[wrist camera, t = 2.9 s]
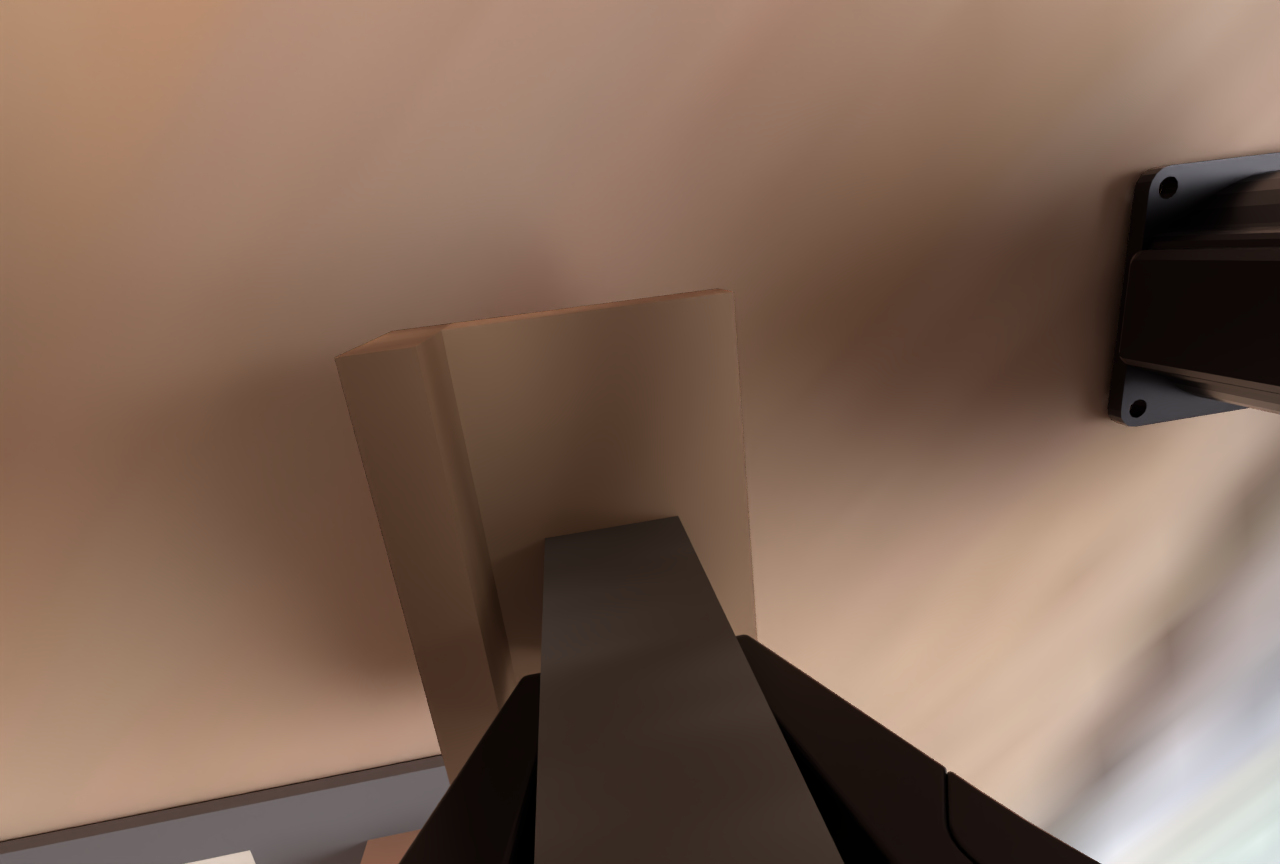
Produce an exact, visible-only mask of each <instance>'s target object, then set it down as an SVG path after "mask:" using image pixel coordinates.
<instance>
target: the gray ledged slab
mask: <svg viewBox="0 0 1280 864" xmlns="http://www.w3.org/2000/svg"><path fill="white" fill-rule="evenodd" d="M449 787H450V783H449V779H448V776H447V772H446V768H445V765H444V761H443V757H442V755H441V756H436V757H431V758H426V759H421V760H416V761H410V762H405V763H400V764H395V765H390V766H385V767H380V768H375V769H370V770H365V771H360V772H355V773H350V774H345V775H340V776H335V777H330V778H324V779H319V780H314V781H309V782H304V783H299V784H294V785H289V786H284V787H279V788H274V789H269V790H264V791H259V792H254V793H249V794H244V795H238V796H233V797H228V798H223V799H218V800H213V801H208V802H203V803H198V804H193V805H188V806H183V807H178V808H173V809H168V810H163V811H158V812H152V813H147V814H142V815H137V816H132V817H127V818H122V819H117V820H112V821H107V822H102V823H97V824H92V825H87V826H82V827H77V828H71V829H66V830H61V831H56V832H51V833H46V834H41V835H36V836H31V837H26V838H21V839H16V840H11V841H6V842H1V843H0V864H360V863H361V860H362V857H363V854H364V851H365V848H366V844H367V841H368V840H371V839H376V838H381V837H386V836H390V835H395V834H400V833H405V832H410V831H414V830H419V829H422V827H423V826H424V824H425V823H426V821H427V820H428V818H429V817H430V815H431V814H432V812H433V811H434V809H435V808H436V806H437V805H438V803H439V802H440V800H441V799H442V797H443V796H444V794H445V793H446V791H447V790H448V788H449Z"/></svg>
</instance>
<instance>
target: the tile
mask: <svg viewBox="0 0 1280 864" xmlns="http://www.w3.org/2000/svg"><path fill="white" fill-rule="evenodd" d="M420 830H421V829H419V830H414V831H410V832H405V833H400V834H395V835H390V836H386V837H381V838H376V839H371V840H368V841H367V844H366V848H365V851H364V854H363V857H362V860H361V863H360V864H398V863H399V862H400V860H401V859H402V857H403V856H404V854H405V853H406V851H407V850H408V848H409V847H410V845H411V844H412V842H413V841H414V839H415V838H416V836H417V835H418V833H419V832H420Z"/></svg>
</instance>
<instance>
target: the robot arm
mask: <svg viewBox="0 0 1280 864" xmlns="http://www.w3.org/2000/svg"><path fill="white" fill-rule="evenodd" d="M1161 183H1162V190H1161V193H1160V195H1159V186H1160V184H1161ZM1132 404H1133V405H1132ZM1131 405H1132V408H1131V409H1130V407H1131ZM1246 408H1253V409H1258V410H1262V411H1267V412H1272V413H1276V414H1280V152H1278V153H1270V154H1261V155H1253V156H1244V157H1236V158H1227V159H1219V160H1210V161H1202V162H1194V163H1185V164H1177V165H1169V166H1162V167H1155V168H1152V169H1150V170H1147V171H1146V172H1145V173H1144V174H1143V175H1141V177H1140V179H1139V180H1138V182H1137V183H1136V187H1135V190H1134V196H1133V205H1132V213H1131V221H1130V229H1129V238H1128V246H1127V254H1126V262H1125V271H1124V279H1123V287H1122V295H1121V303H1120V312H1119V320H1118V328H1117V336H1116V345H1115V353H1114V361H1113V369H1112V377H1111V386H1110V394H1109V402H1108V415H1109V416H1110V418H1111V420H1113V421H1115V422H1117V423H1120V424H1124V425H1127V426H1142V425H1148V424H1154V423H1160V422H1166V421H1172V420H1178V419H1184V418H1191V417H1197V416H1203V415H1209V414H1215V413H1221V412H1227V411H1233V410H1239V409H1246ZM1129 409H1130V410H1129ZM736 638H737V640H738V642H739V644H740V646H741V648H742V651H743V653H744V655H745V657H746V659H747V661H748V663H749V665H750V667H751V669H752V672H753V674H754V676H755V678H756V680H757V682H758V684H759V686H760V688H761V690H762V692H763V695H764V697H765V699H766V701H767V703H768V705H769V707H770V709H771V711H772V713H773V716H774V718H775V720H776V722H777V724H778V726H779V728H780V730H781V732H782V734H783V737H784V739H785V741H786V743H787V745H788V747H789V749H790V751H791V753H792V755H793V758H794V760H795V762H796V764H797V766H798V768H799V770H800V772H801V774H802V776H803V778H804V781H805V783H806V785H807V787H808V789H809V791H810V793H811V795H812V797H813V799H814V802H815V804H816V806H817V808H818V810H819V812H820V814H821V816H822V818H823V820H824V823H825V825H826V827H827V829H828V831H829V833H830V835H831V837H832V839H833V841H834V843H835V846H836V848H837V850H838V852H839V854H840V856H841V858H842V860H843V862H844V864H1101V863H1099V862H1097V861H1095V860H1094V859H1092V858H1090V857H1088V856H1087V855H1085V854H1083V853H1081V852H1080V851H1078V850H1076V849H1075V848H1073V847H1071V846H1069V845H1068V844H1066V843H1064V842H1063V841H1061V840H1059V839H1058V838H1056V837H1054V836H1052V835H1051V834H1049V833H1047V832H1046V831H1044V830H1042V829H1041V828H1039V827H1037V826H1035V825H1034V824H1032V823H1030V822H1029V821H1027V820H1025V819H1024V818H1022V817H1021V816H1019V815H1018V814H1016V813H1015V812H1013V811H1011V810H1010V809H1008V808H1007V807H1005V806H1004V805H1002V804H1001V803H999V802H997V801H996V800H994V799H993V798H991V797H990V796H988V795H986V794H985V793H983V792H982V791H980V790H979V789H977V788H976V787H974V786H973V785H971V784H970V783H968V782H967V781H965V780H964V779H962V778H961V777H959V776H958V775H956V774H955V773H953V772H948V773H947V771H946V768H945V767H944V766H943V765H941V764H940V763H938V762H937V761H935V760H934V759H932V758H931V757H929V756H928V755H926V754H925V753H923V752H922V751H920V750H919V749H917V748H916V747H914V746H913V745H911V744H910V743H908V742H907V741H905V740H904V739H902V738H901V737H899V736H898V735H896V734H895V733H893V732H892V731H890V730H889V729H888V728H886V727H885V726H883V725H882V724H880V723H879V722H877V721H876V720H874V719H873V718H871V717H870V716H868V715H867V714H865V713H864V712H862V711H861V710H859V709H858V708H856V707H855V706H853V705H852V704H850V703H849V702H847V701H846V700H844V699H843V698H841V697H840V696H838V695H837V694H835V693H834V692H832V691H831V690H829V689H828V688H826V687H825V686H823V685H822V684H821V683H819V682H818V681H816V680H815V679H813V678H812V677H810V676H809V675H807V674H806V673H804V672H803V671H801V670H800V669H798V668H797V667H795V666H794V665H792V664H791V663H789V662H788V661H786V660H785V659H783V658H782V657H780V656H779V655H777V654H776V653H774V652H773V651H771V650H770V649H768V648H767V647H765V646H764V645H762V644H761V643H759V642H758V641H756V640H755V639H754V638H752V637H751V636H749V635H746V634H743V635H737V636H736ZM540 674H541V673H536V674H531V675H526V676H524V677H523V678H521V680H520V681H519V683H518V684H517V686H516V687H515V689H514V690H513V692H512V693H511V695H510V696H509V698H508V699H507V701H506V702H505V704H504V705H503V707H502V708H501V710H500V711H499V713H498V714H497V716H496V717H495V719H494V720H493V722H492V723H491V725H490V726H489V728H488V729H487V731H486V732H485V734H484V735H483V737H482V738H481V740H480V741H479V743H478V744H477V746H476V747H475V749H474V750H473V752H472V753H471V755H470V756H469V758H468V759H467V761H466V762H465V764H464V765H463V767H462V768H461V770H460V771H459V773H458V774H457V776H456V777H455V779H454V781H453V782H452V784H451V785H450V787H449V788H448V790H447V791H446V793H445V794H444V796H443V797H442V799H441V800H440V802H439V803H438V805H437V806H436V808H435V809H434V811H433V812H432V814H431V815H430V817H429V818H428V820H427V821H426V823H425V824H424V826H423V827H422V829H421V830H420V832H419V833H418V835H417V836H416V838H415V839H414V841H413V842H412V844H411V845H410V847H409V848H408V850H407V851H406V853H405V854H404V856H403V857H402V859H401V860H400V862H399V863H398V864H534V856H535V825H536V795H537V765H538V735H539V704H540Z"/></svg>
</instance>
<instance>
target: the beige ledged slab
mask: <svg viewBox="0 0 1280 864" xmlns="http://www.w3.org/2000/svg"><path fill="white" fill-rule="evenodd" d="M335 362H336V365H337V369H338V373H339V377H340V380H341V384H342V388H343V391H344V395H345V399H346V402H347V406H348V410H349V414H350V417H351V421H352V425H353V428H354V432H355V436H356V439H357V443H358V447H359V450H360V454H361V458H362V462H363V465H364V469H365V473H366V476H367V480H368V484H369V487H370V491H371V495H372V499H373V502H374V506H375V510H376V513H377V517H378V521H379V524H380V528H381V532H382V536H383V539H384V543H385V547H386V550H387V554H388V558H389V561H390V565H391V569H392V572H393V576H394V580H395V584H396V587H397V591H398V595H399V598H400V602H401V606H402V609H403V613H404V617H405V621H406V624H407V628H408V632H409V635H410V639H411V643H412V646H413V650H414V654H415V658H416V661H417V665H418V669H419V672H420V676H421V680H422V683H423V687H424V691H425V694H426V698H427V702H428V706H429V709H430V713H431V717H432V720H433V724H434V728H435V731H436V735H437V739H438V743H439V746H440V750H441V754H442V757H443V761H444V765H445V768H446V772H447V776H448V779H449V783H450V785H451V784H452V782H453V781H454V779H455V777H456V776H457V774H458V773H459V771H460V770H461V768H462V767H463V765H464V764H465V762H466V761H467V759H468V758H469V756H470V755H471V753H472V752H473V750H474V749H475V747H476V746H477V744H478V743H479V741H480V740H481V738H482V737H483V735H484V734H485V732H486V731H487V729H488V728H489V726H490V725H491V723H492V722H493V720H494V719H495V717H496V716H497V714H498V713H499V711H500V710H501V708H502V707H503V705H504V704H505V702H506V701H507V699H508V698H509V696H510V695H511V693H512V692H513V690H514V689H515V687H516V686H517V684H518V683H519V681H520V680H521V678H523V677H524V676H526V675H531V674H536V673H541V674H540V704H539V735H538V765H537V795H536V825H535V856H534V864H844V862H843V860H842V858H841V856H840V854H839V852H838V850H837V848H836V846H835V843H834V841H833V839H832V837H831V835H830V833H829V831H828V829H827V827H826V825H825V823H824V820H823V818H822V816H821V814H820V812H819V810H818V808H817V806H816V804H815V802H814V799H813V797H812V795H811V793H810V791H809V789H808V787H807V785H806V783H805V781H804V778H803V776H802V774H801V772H800V770H799V768H798V766H797V764H796V762H795V760H794V758H793V755H792V753H791V751H790V749H789V747H788V745H787V743H786V741H785V739H784V737H783V734H782V732H781V730H780V728H779V726H778V724H777V722H776V720H775V718H774V716H773V713H772V711H771V709H770V707H769V705H768V703H767V701H766V699H765V697H764V695H763V692H762V690H761V688H760V686H759V684H758V682H757V680H756V678H755V676H754V674H753V672H752V669H751V667H750V665H749V663H748V661H747V659H746V657H745V655H744V653H743V651H742V648H741V646H740V644H739V642H738V640H737V638H736V636H737V635H743V634H746V635H749V636H751V637H752V638H754V639H755V640H756V641H757V629H756V614H755V599H754V584H753V570H752V555H751V540H750V525H749V511H748V496H747V481H746V466H745V452H744V437H743V422H742V407H741V393H740V378H739V363H738V348H737V334H736V319H735V304H734V292H732V291H727V290H722V289H711V290H703V291H696V292H688V293H680V294H673V295H665V296H657V297H650V298H642V299H634V300H627V301H619V302H611V303H604V304H596V305H588V306H581V307H573V308H565V309H558V310H550V311H542V312H535V313H527V314H519V315H512V316H504V317H496V318H489V319H481V320H473V321H465V322H458V323H450V324H442V325H435V326H427V327H419V328H412V329H404V330H396V331H391V332H389V333H387V334H385V335H382V336H380V337H378V338H376V339H374V340H372V341H369V342H367V343H365V344H363V345H361V346H359V347H357V348H354V349H352V350H350V351H348V352H346V353H344V354H341V355H339V356H337V357H335Z"/></svg>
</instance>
